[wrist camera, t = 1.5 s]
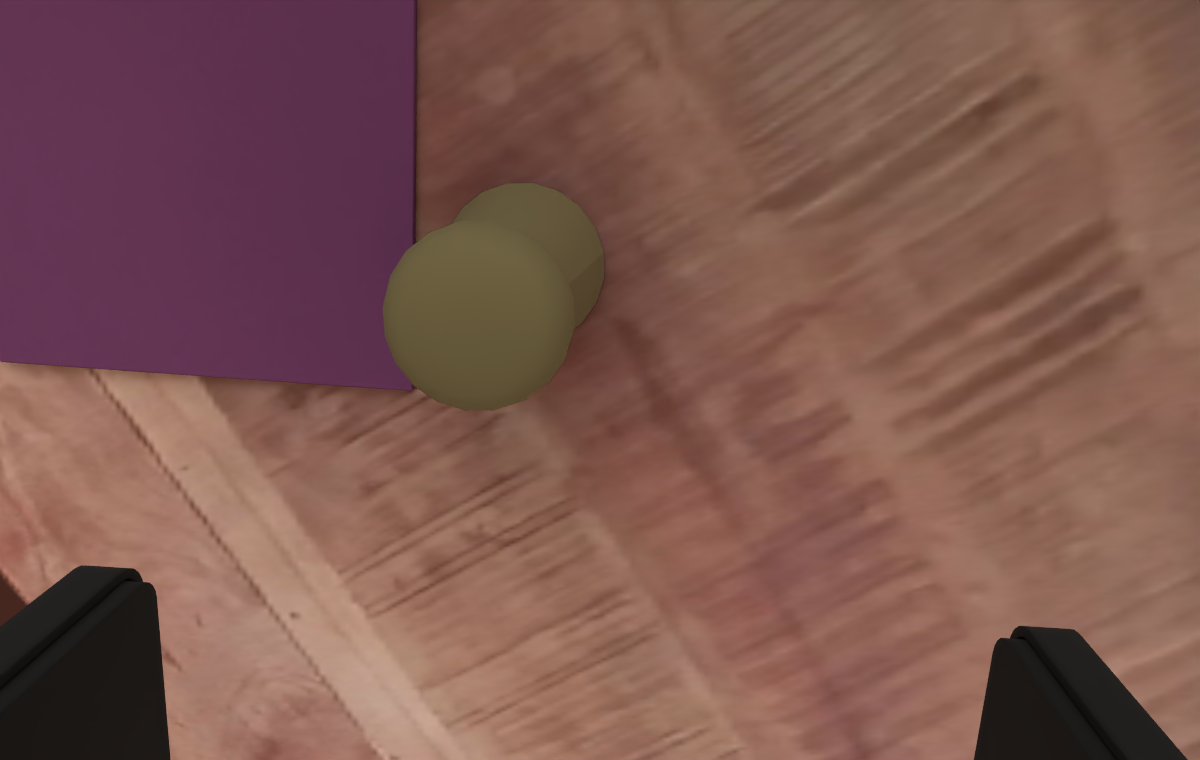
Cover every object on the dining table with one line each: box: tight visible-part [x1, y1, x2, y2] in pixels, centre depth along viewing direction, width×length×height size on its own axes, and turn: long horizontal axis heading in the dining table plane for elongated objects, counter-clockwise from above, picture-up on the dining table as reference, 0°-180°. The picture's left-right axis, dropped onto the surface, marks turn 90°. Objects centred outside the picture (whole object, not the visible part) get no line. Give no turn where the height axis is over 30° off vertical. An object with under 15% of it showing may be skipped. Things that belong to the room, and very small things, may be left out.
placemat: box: [0, 0, 417, 391], centre depth 33 cm, size 20×16×1 cm
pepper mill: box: [383, 183, 604, 410], centre depth 29 cm, size 6×6×11 cm
